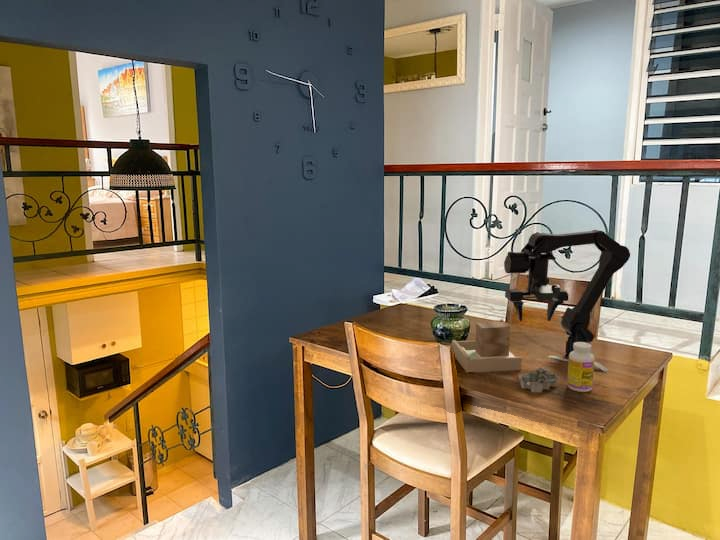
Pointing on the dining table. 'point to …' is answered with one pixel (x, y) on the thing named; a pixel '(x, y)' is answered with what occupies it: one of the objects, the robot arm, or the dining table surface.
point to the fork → (568, 361)
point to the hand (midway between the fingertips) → (534, 320)
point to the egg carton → (543, 380)
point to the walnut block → (492, 339)
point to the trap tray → (483, 359)
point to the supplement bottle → (580, 368)
